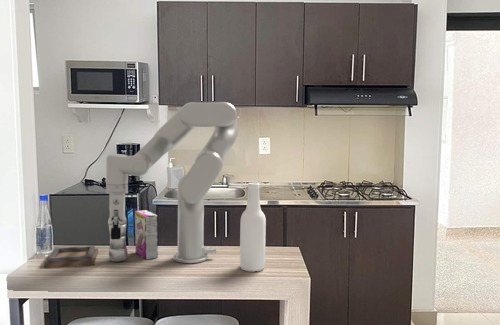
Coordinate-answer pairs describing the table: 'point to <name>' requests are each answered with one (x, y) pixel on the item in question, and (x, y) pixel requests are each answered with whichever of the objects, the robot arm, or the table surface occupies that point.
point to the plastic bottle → (118, 243)
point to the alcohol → (252, 232)
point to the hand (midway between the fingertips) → (116, 235)
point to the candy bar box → (146, 234)
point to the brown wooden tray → (72, 256)
